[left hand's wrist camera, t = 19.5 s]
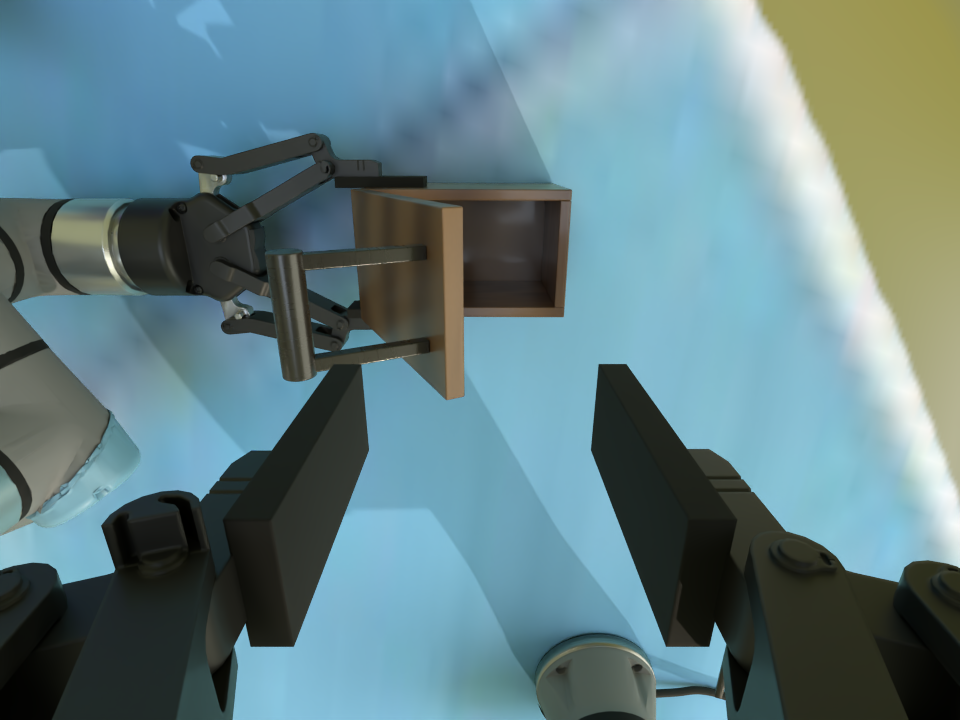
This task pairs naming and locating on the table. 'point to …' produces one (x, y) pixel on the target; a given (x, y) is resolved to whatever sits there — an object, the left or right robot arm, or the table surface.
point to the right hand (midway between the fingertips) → (427, 248)
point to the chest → (508, 244)
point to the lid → (384, 291)
